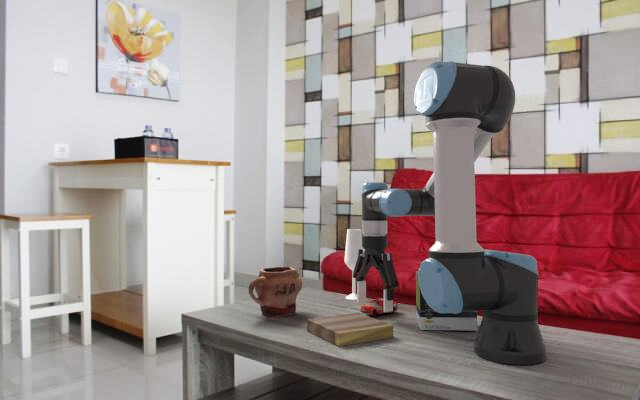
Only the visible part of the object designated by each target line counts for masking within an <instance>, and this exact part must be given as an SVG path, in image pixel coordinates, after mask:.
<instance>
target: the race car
mask: <svg viewBox="0 0 640 400" xmlns="http://www.w3.org/2000/svg"><path fill="white" fill-rule="evenodd" d="M398 306H399V305H398V303H397V302H396V301H394V300H393V311H391V312H384V298H375V299H372V300H371V301H368V303H365V304H362V305H361V306H360V313H361V314H367V315H371V316H374V317H375V316H377V315H378V314H379V315H380V314H381V315H382V314H386V313H391V314H394V313H395V312H397V311H398Z"/></svg>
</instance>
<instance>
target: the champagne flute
mask: <svg viewBox="0 0 640 400" xmlns="http://www.w3.org/2000/svg"><path fill="white" fill-rule="evenodd" d="M362 236H363V235H362V228H361V229H360V228H347V230H346V237H345V238H346V240H345V250H344V258H343V259H344V260H343V261H344V264H345V265H346V266H347V268H349V270H350V271H352V275H353V272H354V268H355V265H356V262H357V258H358V251H359V249H364V248H363V247H362ZM352 275H351V276H352ZM351 280H352V281H351V282H352V283H351V284H352V286H351V289H352V290H351V292H352V293H350V294H348V295H347V296H345V299H346V300H356V301H357V293H356V292H357V281H356V279H355V278H353V276H352V277H351Z"/></svg>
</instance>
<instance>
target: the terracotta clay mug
mask: <svg viewBox="0 0 640 400" xmlns="http://www.w3.org/2000/svg"><path fill="white" fill-rule="evenodd" d="M302 288H303V281H302V279H301V277H300V274H299V272H298V270H297V269H296V268H294V267H292V266H289V267H288V266H278V267H277V266H276V267H267V268H266V267H265V268H262V269H260V271H259V273H258V277H256V278H253V279H252V280H251V281H250V282H249V286H248V294H249V295H250V298H251V300H253V302H255V303H256V304H258V305H259V306H260V307H259V308H260V311H261V314H262V315H264V316H267V317H273V318H275V317H276V318H278V317H286V316H291V315H294V314H296V311H297V302H296V301H297V296H298V295H299V293H301V290H302ZM254 291H255V293H256V295H257V297H256V295H255V294H254Z"/></svg>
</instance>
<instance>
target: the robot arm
mask: <svg viewBox="0 0 640 400" xmlns="http://www.w3.org/2000/svg"><path fill="white" fill-rule="evenodd" d="M413 95H414V97H413V99H414V100H413V102H414V108H415V109H416V112H417V114H419V115H420V116H422V117H425V127H426V128H427V129H428V130H429V131H430V132H431V133H432V143H433V144H432V146H433V147H432V149H433V150H432V152H433V173H432V174H431V176H430V177H429V179H428V181H427V182H426V184H425V185H424V187H423V188H399V187H398V188H394V187H393V188H389V187H388V183H386V182H381V181H380V182H374V181H373V182H364V183H363V184H362V190H361V191H362V192H361V218H362V219H361V234H362V235H361V236H362V247H363V249H359V251H358V258H357V262H356V265H355V268H354V272H353V275H351V276H353V278H355V279H356V292H357V293H356V294H357V300H356V303H357V304H363V303H367V281H366V280H367V279H366V277H367V275H368V274H369V272H370V270H371V268H372V267H373V268H375V269H376V270H377V272H378V274H379V276H380V278H381V280H382V284H383V285H384V288H383V299H384V312H388V313H390V312H391V311H393V301H394V295H395V294H394V293H395V292H394V289H396V288H399V286H400V284H399V280H398V277H397V272H396V269H395V265H394V261H393V253H391V252H388V253H387V252H386V251H385V249H387V248H388V242H389V241H388V239H389V238H388V236H387V234H388V221H389V220H388V217H390V218H395V217H396V218H399V217H416V216H418V217H419V216H420V217H421V216H424V217H428V216H429V217H434V220H435V221H434V228H435V229H434V230H435V242H434V244H432V246H430V248H429V249H428V258H426V259H424V260H423V261H422V262H421V263H420V265H419V268H418V271H419V273H418V280H419V286H420V290H421V293H422V295H423V297H424V299H425V300H426V302H427V304H428V305H429V306H430V307H431V308H432V309H433V310H434V311H436V312H439V313H453V314H458V313H461V312H472V311H477V312H481V311H482V317H481V321H480V325H479V327H478V329H477V334H476V337H475V339H474V343H473V344H474V349H473V351H474V353H475V354H476V355H477V356H478V357H480V358H482V359H484V360H488V361H491V362H495V363H501V364H508V365H518V366H519V365H522V366H523V365H535V364H536V365H537V364H540V363H543V362H545V361H546V360H547V347H546V345H545V342H544V339H543V335H542V332H541V328H540V326H539V322H538V321H539V319H538V311H539V310H538V305H539V304H538V302H539V301H538V300H539V297H538V296H539V272H538V262H537V259H536V258H535V257H534V256H532V255H530V254H524V253H516V252H510V251H503V250H502V251H501V250H494V249H493V250H492V249H484V248H483V247H482V246H481V245H480V243H478V240H477V215H476V214H477V213H476V212H477V210H476V207H477V206H476V205H477V204H476V177H475V175H476V174H475V173H476V172H475V170H476V169H475V163H476V161H477V160H478V158H479V157H480V155H481V154H482V152H483V151H484V149H485V148H486V146H488V144H489V142H490V141H491V139H492V138H493V137H494V135H497V134H500V133H502V131H503V130H504V128H505V127H506V126H507V124H508V123H509V121H510V119H511V117H512V114H513V112H514V109H515V105H516V89H515V85H514V84H513V81H512V80H511V78H510V76H509V75H508V74H507V73H506V72H505V71H503V70H502V69H500V68H498V67H496V66H493V65H481V64H480V65H479V64H473V63H465V62H454V61H452V60H449V61H434V62H431V63H430V64H429V65H428V66H427V67H425V69H424V70H422V72H421V74H420V77H419V78H418V80H417V83H416V85H415V89H414V94H413Z"/></svg>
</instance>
